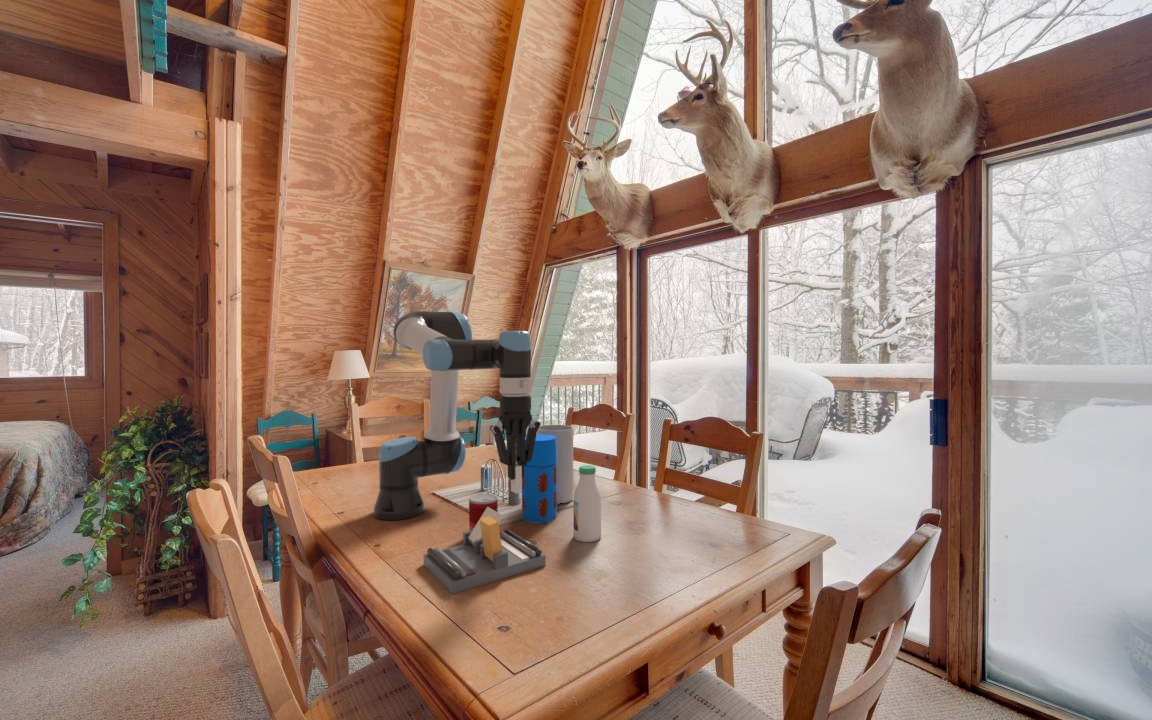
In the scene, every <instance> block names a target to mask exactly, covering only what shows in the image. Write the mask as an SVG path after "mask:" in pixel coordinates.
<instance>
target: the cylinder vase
mask: <svg viewBox="0 0 1152 720" xmlns="http://www.w3.org/2000/svg"><path fill="white" fill-rule="evenodd" d="M536 435H552V436H555V437H556V441H557V462H556V463H557V505H561V504H560V503H563V504H567V503H569V502H571V501H572V500H574V427H573V426H572V425H566V424H546V425H540V427H539V429H538V431H537V434H536Z"/></svg>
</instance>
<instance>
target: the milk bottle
mask: <svg viewBox="0 0 1152 720" xmlns="http://www.w3.org/2000/svg"><path fill="white" fill-rule="evenodd" d="M596 471H597V468H596V466H595V465H589V464H588V465H587V464H585V465H580V466H579V468H578V472H579V473H578V475H579V480H578V483H577V486H576V488H575V490H574V492H573V538H574V539H575V540H576V541H578V542H581V543H593V542H597V541H599V540H600V539H601V537H602V499H601V498H602V495H601V492H600V488H599V486H598V484H597V481H596V477H595V476H596Z"/></svg>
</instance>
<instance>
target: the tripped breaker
mask: <svg viewBox="0 0 1152 720" xmlns="http://www.w3.org/2000/svg"><path fill="white" fill-rule="evenodd" d="M499 524H500V523H498V521H496V520H494V519H493V518H491V517H489V516H487V517H485V518H482V519H480V527H481V534H482V541H483V548H484V555H485V556H486V557H488V558H489V559H490V560H492V561H493V554H497V553H500V552H502V545H501V538H500V532H501V530H500V525H499Z"/></svg>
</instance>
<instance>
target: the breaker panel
mask: <svg viewBox="0 0 1152 720" xmlns="http://www.w3.org/2000/svg"><path fill="white" fill-rule="evenodd" d="M472 531H473V530H471V531H469V530H466V531H463V532H462V544H460V545H456V546H453V547H449V548H445V549H441V548H440V547H438V546H437V547H434V548H433V547H429V548H427V550H426V553H425V554H423V565H424V567H426V569H427V570H428V571H429V572H430V573H431V574H432V575H433V576H434V577H435V578H436V579H437V580H438V582H440V583H441V584H442V586H444V587H445V588H446V589H447V590H448V591H449V592H450V593H451V594H452V595H454V594H457V593H460V592H464V591H467V590H471V589H473V588H474V589H475V588H477V587H479V586H484V585H487V584H490V583H492V582H496V581H500V580H502V579H503V580H504V579H506V578H510V577H513V576H515V575H518V574H522V573H525V572H528V571H532V570H535V569H537V568H542V567H545V566H546V564H547V563H546V561H547V559H546V554H544V553H543V551H542V549H541V548H539V547H537V546H536V545H534V544H533V543H532V542H530V541H528V540H527V539H525V538H524V537H521V536H520V535H518V534H516V533H515V532H513V531H512V530H510V529H508V528H507V529H506V528H505V529H504V531H503V530H500V538H501V545H502V552H500V553H497V554H493V561H492V560H490V559H489V558H488V557H486V556H485V555H484V548H483V541H482V539H479V540H475V541H474V546H475V547H474V546H473V545H472V544H470V543H469V538H468V537H469V536H470V534H471V532H472Z"/></svg>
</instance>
